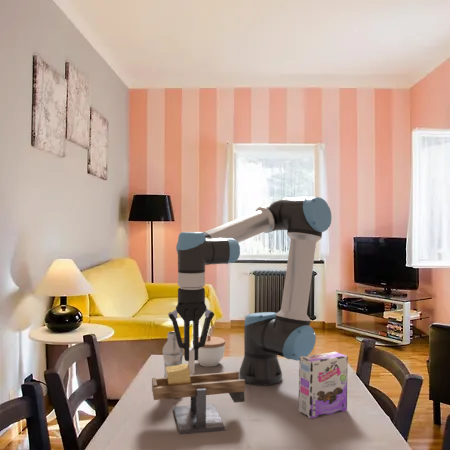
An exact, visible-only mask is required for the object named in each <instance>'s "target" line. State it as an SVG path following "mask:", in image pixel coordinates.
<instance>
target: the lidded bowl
mask: <svg viewBox="0 0 450 450" xmlns="http://www.w3.org/2000/svg"><path fill="white" fill-rule="evenodd" d="M200 337H201V336H199V341H200ZM225 345H226V339H224V338H222V337H219V336H212V335H210V334H207V338H206V343H205V346H204V347H200V348H199V349H198V360H196V361H197V362H198V363H199V366H201V367H216V366H218V365H219V363H220V362H221V361H222V359H223V358H224V355H225V351H226V347H225Z"/></svg>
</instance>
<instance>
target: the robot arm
mask: <svg viewBox="0 0 450 450" xmlns="http://www.w3.org/2000/svg"><path fill="white" fill-rule="evenodd" d="M332 219H333V218H332V212H331V208H330V206H329V203H327V200H325V199H324V198H323V197H319V196H311V195H309V196H296V197H295V196H294V197H291V196H290V197H282V198H278V199H277V200H274V201H272V202H269V203H266V204H264V205H262V206H259V207H257V208H256V209H255V210H254V212H251V213H249V214H246V215H244V216H241V217H238V218H236V219H234V220H231V221H228V222H226V223H223V224H222V225H219V226H217V227H213V228H211V229H208V230H206V231H182V232H180V233H179V234H178V237H177V238H178V239H177V243H176V247H175V248H176V249H175V250H176V254H177V286H178V289H177V305H176V306H175V309H174V310H173V311H172V312H171V311H170V312H169V313H168V317H169V319H170V320H171V322H172V327H173V330H174V331H173V332H175V335H176V339H177V343H178V346H179V347H180V348H183V357H184V361H185V362H187V365H188V367H189V370H190V375H194V374H195V361H197V360H198V349H199V348H200V347H204V346H205V343H206V338H207V335H209V330H210V326H211V321H212V320H213V318H214V316H215V313H214V311H212V310H209V309H208V307H207V305H206V290H205V288H204V287H205V285H206V277H205V276H206V266H208V265H228V264H232V263H235V262H237V261H238V259H239V258H240V256H241V246H240V244H239V243H241V242H243V241H246V240H248V239H251V238H253V237H255V236H257V235H260V234H262V233H265V234H268V233H269V234H270V233H272V232H275V231H286V235H287V236H288V238H290V241H289V242H290V243H289V250H288V257H287V263H286V264H287V265H286V271H285V277H284V278H285V279H284V285H283V293H282V299H281V306H280V310H279V311H277V312H273V311H266V312H265V311H262V312H253V313H248V314H247V315H246V316H245V318H244V325H243V327H244V329H243V331H244V332H243V333H244V335H243V337H244V338H243V340H244V341H243V345H244V347H243V348H244V354H243V359H242V362H241V365H240V369H239V371H238V372H239V378H240V380H241V379H244V380H245V384H248V385H253V386H272V385H276V384H280V382H282V380H283V371H282V369H281V364H280V361H279V359H278V356H280V357H283V358H285V359H287V360H293V361H298V362H300V357H301V356H310V355H311V353H312V352H313V350H314V347H315V346H316V337H317V336H316V333H315V329H314V328H313V327H312V326H311V318H310V317H309V316H308V309H309V308H308V307H309V301H310V300H309V298H310V292H311V285H312V284H311V283H312V277H313V269H314V262H315V255H316V248H317V247H316V246H317V243H318V242H319V241H320V240H321V239H322V237H323V233H324V232H326V231H327V230H329V228H330V227H331V224H332ZM178 315H179V316H180V318H181V319H182V320H183V339H182V335H181V331H180V328H179V324H178V320H177V319H178V317H179V316H178ZM203 315H204V317H205V318H204V322H203V325H202V329H201V334H200V333H199V329H200V326H199V325H200V320H201V319H202V317H203ZM191 322H192V347H191V346H190V345H191V344H190V341H191V340H190V338H191V337H190V331H191V330H190V325H191ZM199 334H200V335H199ZM199 337H200V341H199Z"/></svg>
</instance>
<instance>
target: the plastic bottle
mask: <svg viewBox="0 0 450 450" xmlns="http://www.w3.org/2000/svg"><path fill="white" fill-rule="evenodd" d="M166 339H167V341H166V342H165V343H164V344H163V345H164V346H163V347H162V355H163V362H164V374H163V378H165V377H167V375H166V367H168V366H174V365H181V364H183V357H184V349H183V348H180V347H179V346H178V343H177V339H176V335H175V331H168V332H167V337H166Z"/></svg>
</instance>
